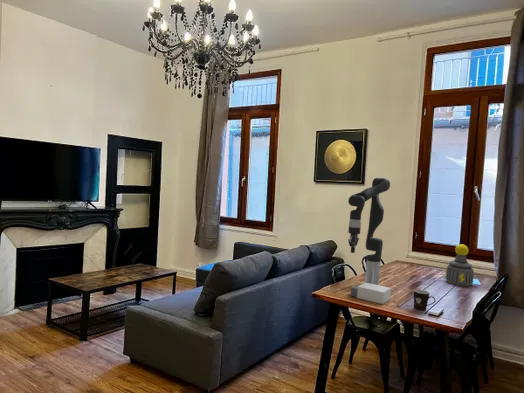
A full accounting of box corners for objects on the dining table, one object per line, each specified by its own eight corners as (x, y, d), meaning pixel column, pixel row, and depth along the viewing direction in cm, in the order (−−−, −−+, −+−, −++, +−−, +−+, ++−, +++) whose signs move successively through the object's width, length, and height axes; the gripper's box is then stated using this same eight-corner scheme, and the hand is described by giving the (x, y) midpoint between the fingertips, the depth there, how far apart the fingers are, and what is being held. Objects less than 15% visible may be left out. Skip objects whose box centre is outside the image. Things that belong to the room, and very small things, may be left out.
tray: (358, 291, 247) (359, 283, 246) (387, 298, 236) (388, 289, 236) (350, 295, 235) (351, 287, 235) (380, 302, 225) (381, 294, 225)
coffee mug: (408, 306, 223) (410, 289, 222) (420, 305, 226) (421, 289, 225) (423, 313, 212) (425, 295, 212) (435, 312, 215) (437, 295, 215)
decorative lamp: (447, 284, 287) (451, 244, 286) (443, 278, 305) (446, 241, 304) (475, 287, 281) (479, 247, 280) (469, 281, 299) (473, 244, 298)
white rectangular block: (364, 293, 244) (365, 282, 244) (389, 299, 235) (390, 288, 235) (356, 297, 233) (357, 286, 233) (382, 304, 224) (383, 292, 224)
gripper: (353, 225, 255) (351, 250, 256) (345, 226, 244) (343, 252, 245) (363, 226, 251) (361, 252, 252) (356, 227, 240) (354, 254, 241)
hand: (352, 252), depth 248 cm, fingers closed
